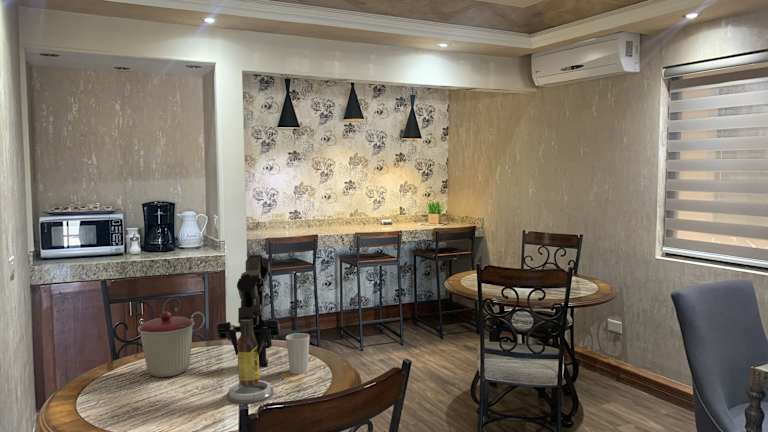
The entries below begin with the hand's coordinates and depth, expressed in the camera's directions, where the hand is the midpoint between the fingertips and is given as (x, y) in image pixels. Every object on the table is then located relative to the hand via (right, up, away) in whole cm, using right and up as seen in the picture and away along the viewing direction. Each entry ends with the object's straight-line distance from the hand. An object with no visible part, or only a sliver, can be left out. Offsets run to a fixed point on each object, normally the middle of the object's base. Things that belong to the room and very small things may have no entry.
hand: (247, 354), depth 180 cm
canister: (-32, -12, +25) cm, 43 cm away
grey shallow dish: (0, -13, +2) cm, 13 cm away
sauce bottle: (0, -10, +2) cm, 10 cm away
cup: (+12, -11, +22) cm, 28 cm away
